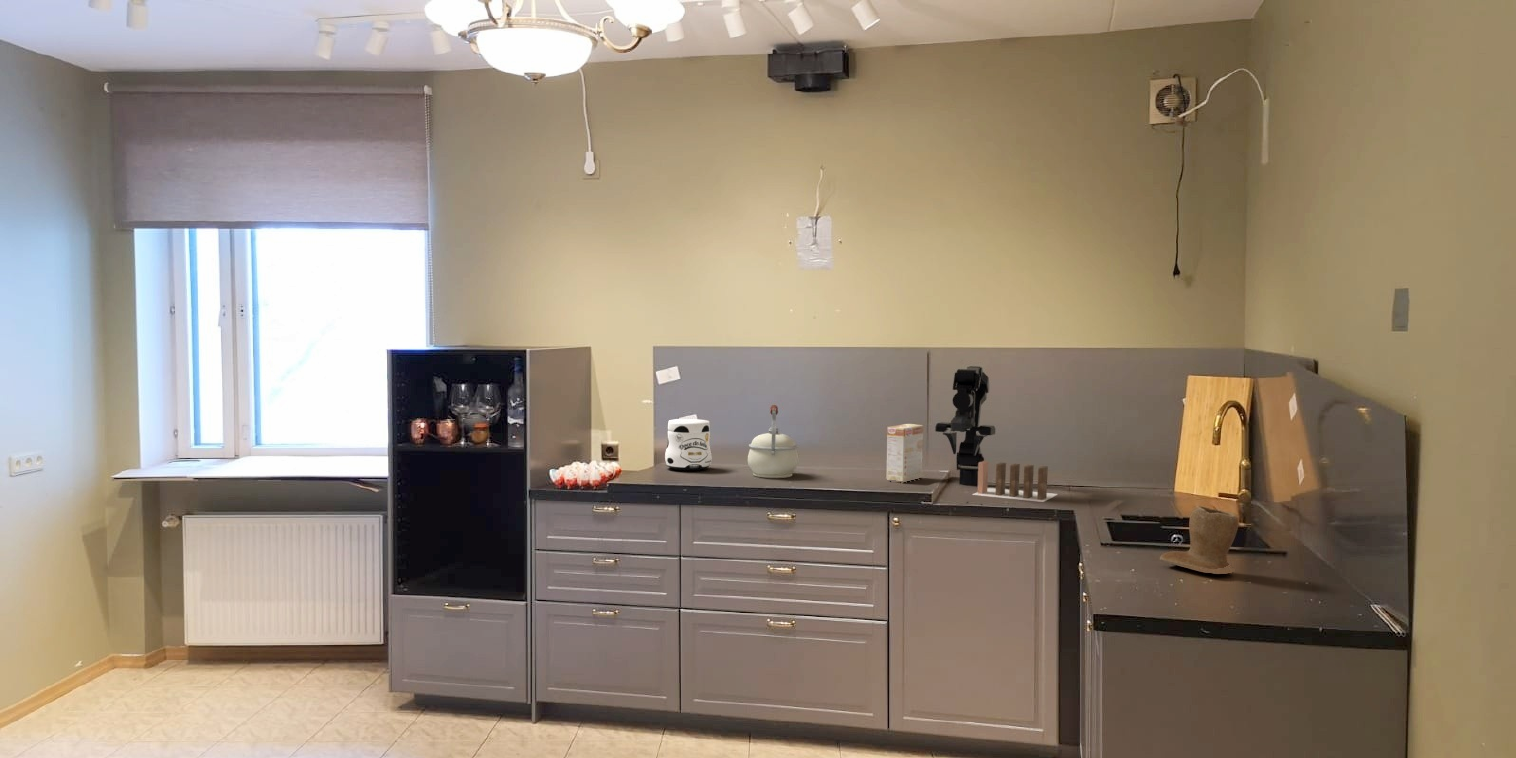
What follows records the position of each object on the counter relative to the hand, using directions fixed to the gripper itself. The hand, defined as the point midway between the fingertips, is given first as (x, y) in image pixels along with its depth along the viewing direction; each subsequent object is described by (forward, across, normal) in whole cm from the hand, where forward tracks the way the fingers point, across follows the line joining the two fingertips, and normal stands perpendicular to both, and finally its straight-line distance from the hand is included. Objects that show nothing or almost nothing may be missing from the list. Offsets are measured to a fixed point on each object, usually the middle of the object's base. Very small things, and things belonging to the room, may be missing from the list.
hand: (964, 454), depth 350 cm
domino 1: (+12, +6, 0) cm, 13 cm away
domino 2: (+12, +12, 0) cm, 17 cm away
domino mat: (+13, +16, +3) cm, 21 cm away
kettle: (+13, -72, +1) cm, 73 cm away
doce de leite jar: (+13, -104, -6) cm, 105 cm away
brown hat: (+13, +82, -73) cm, 110 cm away
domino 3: (+12, +17, 0) cm, 21 cm away
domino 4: (+12, +21, 0) cm, 24 cm away
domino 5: (+12, +26, 0) cm, 28 cm away
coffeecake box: (+13, -27, +17) cm, 35 cm away
